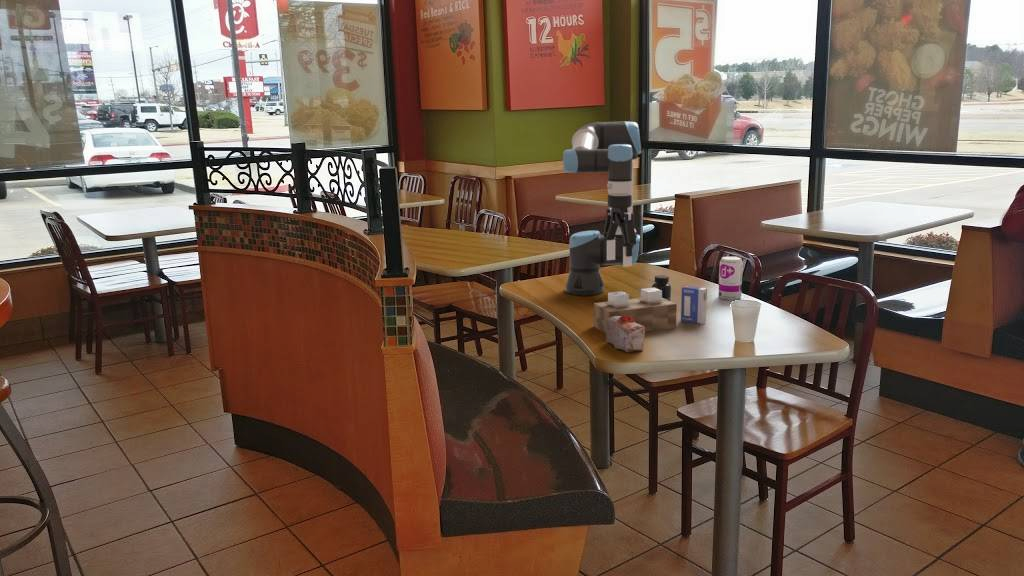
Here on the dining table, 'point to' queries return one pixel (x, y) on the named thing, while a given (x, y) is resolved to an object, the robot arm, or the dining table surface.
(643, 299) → the peg far
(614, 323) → the food item
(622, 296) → the peg near
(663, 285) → the supplement bottle
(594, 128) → the robot arm
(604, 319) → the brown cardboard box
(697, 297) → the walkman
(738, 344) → the dining table surface
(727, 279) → the supplement can
